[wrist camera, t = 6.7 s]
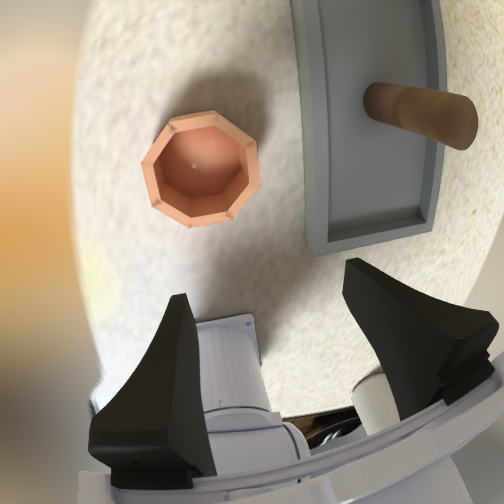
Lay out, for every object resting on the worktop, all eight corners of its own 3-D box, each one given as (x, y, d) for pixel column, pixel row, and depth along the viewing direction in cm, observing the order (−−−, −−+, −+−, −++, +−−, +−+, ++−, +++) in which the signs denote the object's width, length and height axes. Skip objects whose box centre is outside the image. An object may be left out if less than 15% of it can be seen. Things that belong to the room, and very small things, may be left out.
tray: (418, 221, 24) (431, 231, 23) (305, 243, 23) (314, 256, 21) (421, -9, 12) (436, -12, 11) (283, -39, 11) (293, -50, 9)
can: (395, 374, 41) (427, 429, 31) (361, 399, 43) (387, 455, 33) (379, 365, 37) (415, 429, 27) (340, 393, 39) (369, 457, 30)
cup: (251, 193, 20) (263, 214, 17) (163, 210, 19) (159, 234, 16) (241, 105, 17) (252, 108, 14) (144, 123, 16) (133, 130, 13)
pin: (395, 121, 18) (475, 150, 12) (363, 121, 18) (443, 150, 11) (395, 84, 17) (479, 99, 10) (362, 81, 16) (446, 91, 10)
